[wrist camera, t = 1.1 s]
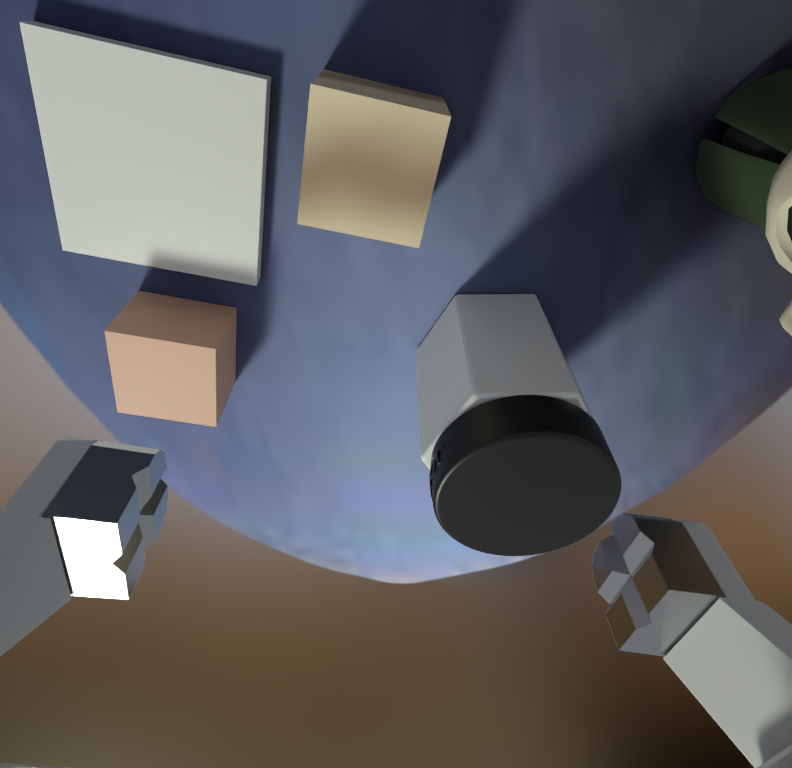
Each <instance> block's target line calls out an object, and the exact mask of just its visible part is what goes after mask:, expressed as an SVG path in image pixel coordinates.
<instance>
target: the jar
mask: <svg viewBox="0 0 792 768" xmlns="http://www.w3.org/2000/svg"><path fill="white" fill-rule="evenodd" d="M416 368H417V388H418V409H419V429H420V449H421V459H422V461H423V462H424V463H425V465H426V466H427V467H428V468H429V470H430V489H431V498H432V501H433V507H434V512H435V515H436V518H437V520H438V522H439V523H440V525H441V526H442V528H443V529H444V530H445V531H446V532H447V533H448V534H449V535H450V536H451V537H452V538H453V539H455V540H456V541H458V542H459V543H461V544H463V545H465V546H467V547H469V548H472V549H474V550H477V551H481V552H484V553H489V554H494V555H503V556H526V555H534V554H540V553H545V552H550V551H553V550H557V549H560V548H563V547H565V546H568V545H570V544H573V543H575V542H577V541H579V540H581V539H582V538H584V537H586V536H587V535H589V534H590V533H592V532H593V531H595V530H596V529H597V528H598V527H599V526H601V525H602V524H603V523H604V522H605V521H606V519H607V518H608V517H609V516H610V514H611V513H612V512H613V510H614V508H615V506H616V504H617V502H618V499H619V496H620V492H621V477H620V472H619V469H618V467H617V465H616V462H615V460H614V458H613V456H612V454H611V451H610V449H609V447H608V445H607V443H606V440H605V438H604V436H603V434H602V432H601V430H600V428H599V426H598V424H597V423H596V422H595V420H594V419H593V417H592V415H591V412H590V410H589V408H588V406H587V403H586V401H585V399H584V397H583V395H582V392H581V390H580V388H579V386H578V384H577V381H576V379H575V377H574V375H573V373H572V370H571V368H570V366H569V364H568V361H567V359H566V357H565V355H564V353H563V350H562V348H561V346H560V344H559V342H558V340H557V338H556V336H555V334H554V331H553V329H552V327H551V325H550V323H549V321H548V319H547V317H546V315H545V313H544V310H543V308H542V306H541V304H540V302H539V300H538V298H537V296H536V295H535V294H458V295H456V296H454V298H453V299H452V301H451V302H450V303H449V305H448V306H447V308H446V309H445V311H444V312H443V313H442V315H441V316H440V318H439V319H438V320H437V322H436V323H435V325H434V326H433V328H432V329H431V330H430V332H429V333H428V335H427V336H426V337H425V339H424V340H423V342H422V343H421V345H420V346H419V347H418V349H417V350H416Z"/></svg>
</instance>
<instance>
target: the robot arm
mask: <svg viewBox="0 0 792 768" xmlns="http://www.w3.org/2000/svg"><path fill="white" fill-rule="evenodd" d="M165 468H166V462H165V453H164V452H163V451H161V450H157V449H151V448H145V447H138V446H132V445H126V444H120V443H113V442H107V441H101V440H99V441H97V440H91V439H84V438H77V437H72V436H65V437H63V438H61V439H60V440H58V441H57V442H56V443H55V444H54V445H53V446H52V448H51V449H50V450H49V451H48V453H47V454H46V455H45V456H44V458H43V459H42V460H41V461H40V463H39V464H38V465H37V466H36V468H35V469H34V470H33V471H32V473H31V474H30V475H29V476H28V477H27V479H26V480H25V481H24V483H23V484H22V485H21V486H20V487H19V489H18V490H17V491H16V492H15V494H14V495H13V496H12V497H11V499H10V500H9V501H8V502H7V504H6V505H5V506H4V507H3V509H2V510H1V511H0V656H1V655H3V654H4V653H5V652H6V651H8V650H9V649H10V648H11V647H13V646H14V645H15V644H16V643H18V642H19V641H20V640H21V639H22V638H24V637H25V636H26V635H27V634H28V633H30V632H31V631H32V630H34V629H35V628H36V627H37V626H38V625H40V624H41V623H42V622H43V621H44V620H46V619H47V618H48V617H50V616H51V615H52V614H53V613H54V612H56V611H57V610H58V609H59V608H61V607H62V606H63V605H64V604H66V603H67V602H68V601H69V600H70V599H71V595H72V596H85V597H99V598H111V599H125V600H129V598H130V596H131V594H132V592H133V589H134V587H135V585H136V583H137V581H138V578H139V576H140V574H141V572H142V570H143V567H144V566H145V554H144V548H146V547H147V546H149V545H150V544H152V543H153V542H155V541H156V539H157V537H158V534H159V532H160V530H161V527H162V525H163V521H164V517H165V514H166V510H167V501H168V487H167V485H166V484H165V483H164V482H163V481H162V480H161V479H160V478H161V476H162V474H163V472H164V470H165ZM611 529H612V532H613V535H612V536H610V537H608V538H606V539H604V540H603V541H601V542H600V543H599V545H598V547H597V549H596V550H595V552H594V554H593V562H592V574H593V580H594V583H595V586H596V589H597V592H598V593H599V594H600V595H601V596H602V597H603V598H604V599H605V600H606V601H607V602H608V603H609V607H608V610H607V613H606V617H607V619H608V622H609V625H610V627H611V630H612V633H613V636H614V638H615V641H616V643H617V646H618V649H619V650H621V651H628V652H636V653H644V654H651V655H659V656H665V657H664V658H663V659H664V660H665V662H667V664H668V665H669V666H670V668H671V669H672V670H673V671H674V672H675V673H676V675H677V676H678V677H679V678H680V679H681V681H682V682H683V683H684V684H685V685H686V687H687V688H688V689H689V690H690V691H691V693H692V694H693V695H694V696H695V697H696V699H698V701H699V702H700V703H701V704H702V706H703V707H704V708H705V709H706V710H707V712H708V713H709V714H710V715H711V716H712V718H713V719H714V720H715V721H716V722H717V724H718V725H719V726H720V727H721V728H722V729H723V731H724V732H725V733H726V734H727V735H728V737H729V738H730V739H731V740H732V741H733V743H734V744H735V745H736V746H737V747H738V749H739V750H740V751H741V752H742V753H743V755H744V756H745V757H746V758H747V759H748V761H749V762H750V763H751V764H752V765H753V766H754V768H792V625H791V624H790V623H789V622H787V621H786V620H785V619H783V618H782V617H781V616H780V615H779V614H777V613H776V612H775V611H774V610H772V609H771V608H770V607H769V606H767V605H766V604H765V603H761V602H756V601H755V599H754V598H753V596H752V595H751V593H750V592H749V590H748V588H747V587H746V585H745V584H744V582H743V580H742V579H741V577H740V576H739V574H738V573H737V571H736V569H735V568H734V566H733V565H732V563H731V562H730V560H729V558H728V557H727V555H726V554H725V552H724V551H723V549H722V548H721V546H720V544H719V543H718V541H717V540H716V538H715V536H714V535H713V533H712V532H711V530H710V529H709V528H708V527H707V526H705V525H704V524H703V523H701V522H693V521H684V520H677V519H676V520H673V519H669V518H661V517H653V516H645V515H637V514H629V513H623V514H621V515H619V516H618V517H616V519H615V520H614V522H613V523H612V525H611ZM0 768H67V767H52V766H36V765H21V764H6V763H0Z"/></svg>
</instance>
